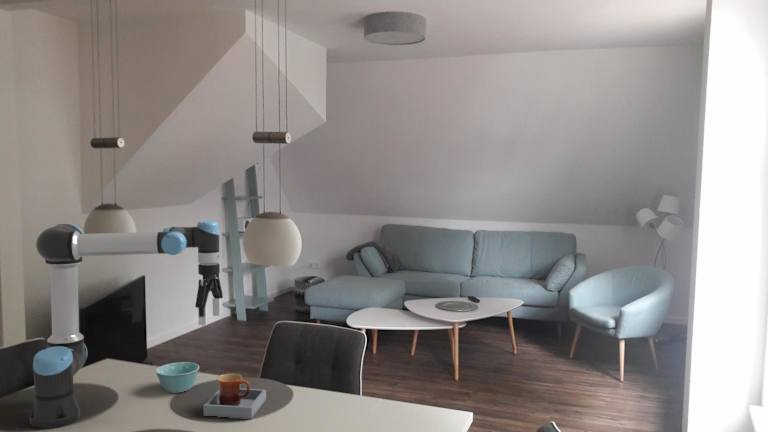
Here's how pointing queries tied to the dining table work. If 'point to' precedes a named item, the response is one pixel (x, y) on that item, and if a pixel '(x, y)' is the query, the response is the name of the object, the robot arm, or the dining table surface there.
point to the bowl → (177, 376)
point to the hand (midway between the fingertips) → (209, 320)
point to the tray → (242, 411)
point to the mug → (231, 389)
